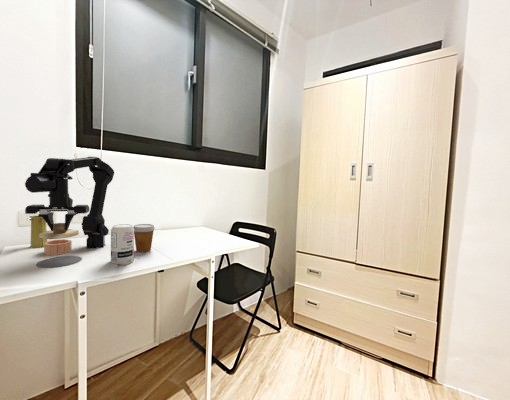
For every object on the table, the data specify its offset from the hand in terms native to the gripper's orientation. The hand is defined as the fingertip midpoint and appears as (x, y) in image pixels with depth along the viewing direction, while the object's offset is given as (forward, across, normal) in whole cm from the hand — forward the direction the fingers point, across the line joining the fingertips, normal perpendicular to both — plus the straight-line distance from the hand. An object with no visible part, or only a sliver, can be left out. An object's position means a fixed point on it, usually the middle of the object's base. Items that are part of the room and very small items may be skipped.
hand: (59, 230), depth 95 cm
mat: (+12, 0, +2) cm, 12 cm away
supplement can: (+13, -22, +6) cm, 27 cm away
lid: (+2, 0, 0) cm, 2 cm away
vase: (+13, +15, -24) cm, 31 cm away
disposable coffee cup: (+13, -30, -9) cm, 33 cm away
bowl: (+12, +4, -12) cm, 18 cm away
